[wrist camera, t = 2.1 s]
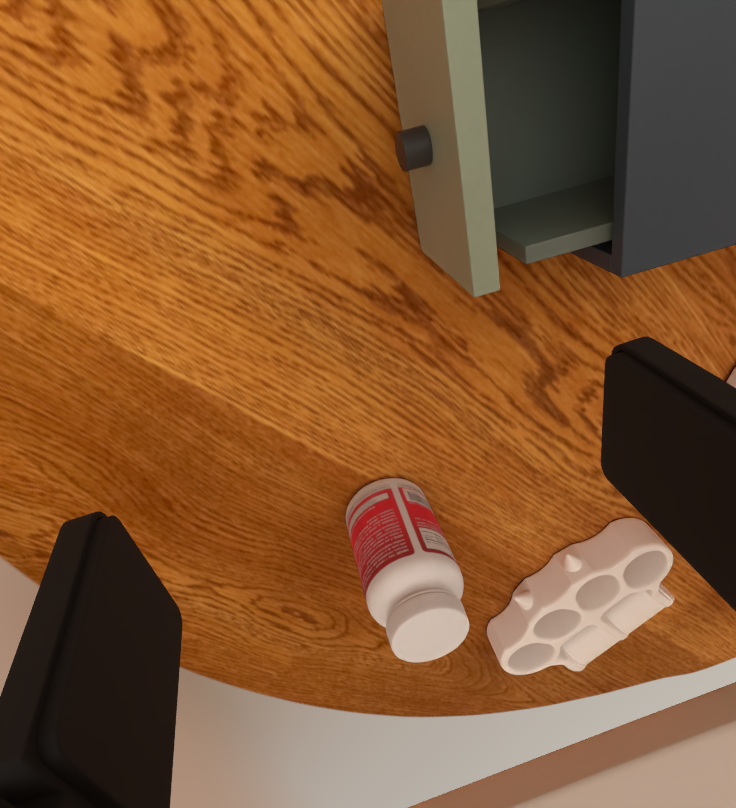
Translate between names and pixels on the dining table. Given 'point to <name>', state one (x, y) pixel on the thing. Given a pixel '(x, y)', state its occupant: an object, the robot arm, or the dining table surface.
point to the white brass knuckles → (584, 600)
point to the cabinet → (673, 135)
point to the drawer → (506, 127)
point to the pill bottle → (407, 570)
